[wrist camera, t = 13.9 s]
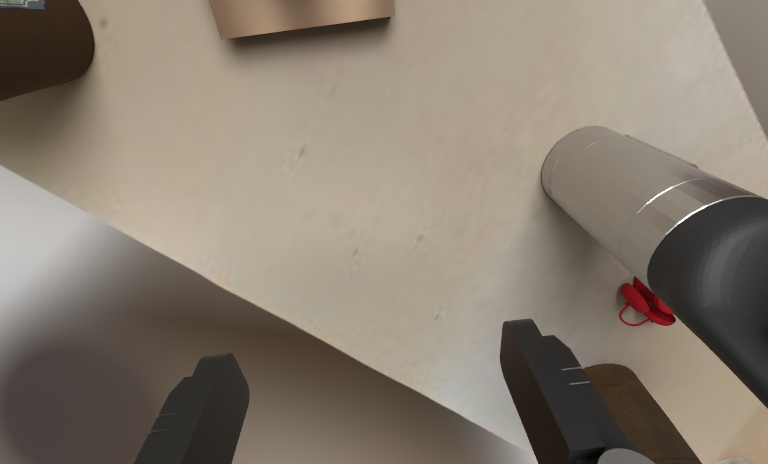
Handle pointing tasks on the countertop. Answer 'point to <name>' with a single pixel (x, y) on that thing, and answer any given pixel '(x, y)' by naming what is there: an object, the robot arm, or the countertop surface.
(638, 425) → the wooden container
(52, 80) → the brown bottle
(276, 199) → the countertop surface
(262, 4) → the socket block
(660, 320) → the alarm clock
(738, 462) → the mug
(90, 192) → the countertop surface
